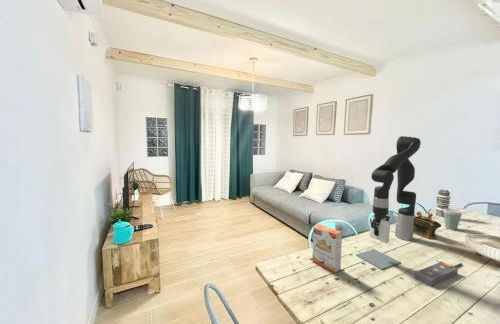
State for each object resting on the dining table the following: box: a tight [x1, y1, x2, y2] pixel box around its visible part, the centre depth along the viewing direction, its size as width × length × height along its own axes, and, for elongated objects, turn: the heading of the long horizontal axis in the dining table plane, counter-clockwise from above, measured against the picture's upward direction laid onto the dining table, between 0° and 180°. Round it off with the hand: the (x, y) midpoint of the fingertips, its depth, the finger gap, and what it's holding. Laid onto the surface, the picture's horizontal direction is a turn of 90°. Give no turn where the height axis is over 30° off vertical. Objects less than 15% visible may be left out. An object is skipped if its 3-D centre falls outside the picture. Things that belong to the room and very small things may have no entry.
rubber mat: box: [355, 248, 402, 271], centre depth 123 cm, size 16×16×1 cm
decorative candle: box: [435, 189, 451, 218], centre depth 191 cm, size 9×9×25 cm
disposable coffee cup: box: [443, 208, 463, 231], centre depth 166 cm, size 11×11×15 cm
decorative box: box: [413, 208, 442, 240], centre depth 157 cm, size 20×10×20 cm, turn 19°
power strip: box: [413, 261, 463, 288], centre depth 110 cm, size 7×37×4 cm, turn 114°
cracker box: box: [312, 223, 343, 274], centre depth 116 cm, size 14×6×21 cm, turn 37°
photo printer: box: [369, 216, 391, 244], centre depth 122 cm, size 10×4×12 cm, turn 26°
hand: (379, 234), depth 122 cm, fingers closed on photo printer, 4 cm apart
